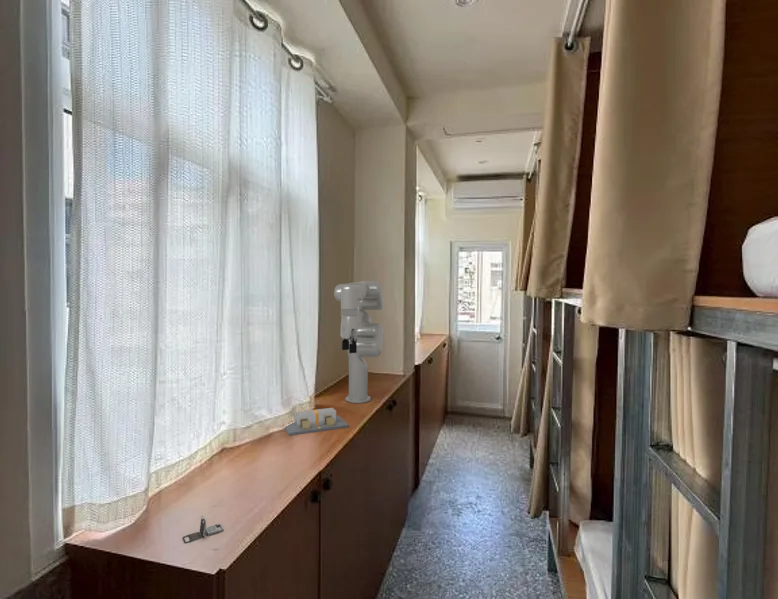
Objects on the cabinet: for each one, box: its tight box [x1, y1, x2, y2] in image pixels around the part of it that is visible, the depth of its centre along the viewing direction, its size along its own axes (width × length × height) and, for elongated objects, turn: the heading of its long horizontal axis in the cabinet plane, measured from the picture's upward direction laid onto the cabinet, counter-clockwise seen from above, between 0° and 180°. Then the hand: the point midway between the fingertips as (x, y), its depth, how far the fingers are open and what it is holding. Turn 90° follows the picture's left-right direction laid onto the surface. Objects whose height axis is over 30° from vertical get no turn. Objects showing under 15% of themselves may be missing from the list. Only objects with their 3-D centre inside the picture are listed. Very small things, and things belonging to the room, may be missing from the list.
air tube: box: [294, 407, 337, 428], centre depth 170 cm, size 5×16×5 cm, turn 115°
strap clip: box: [182, 515, 225, 544], centre depth 96 cm, size 8×3×4 cm, turn 126°
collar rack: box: [284, 415, 350, 436], centre depth 170 cm, size 13×24×4 cm, turn 115°
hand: (349, 351), depth 186 cm, fingers open, 9 cm apart
